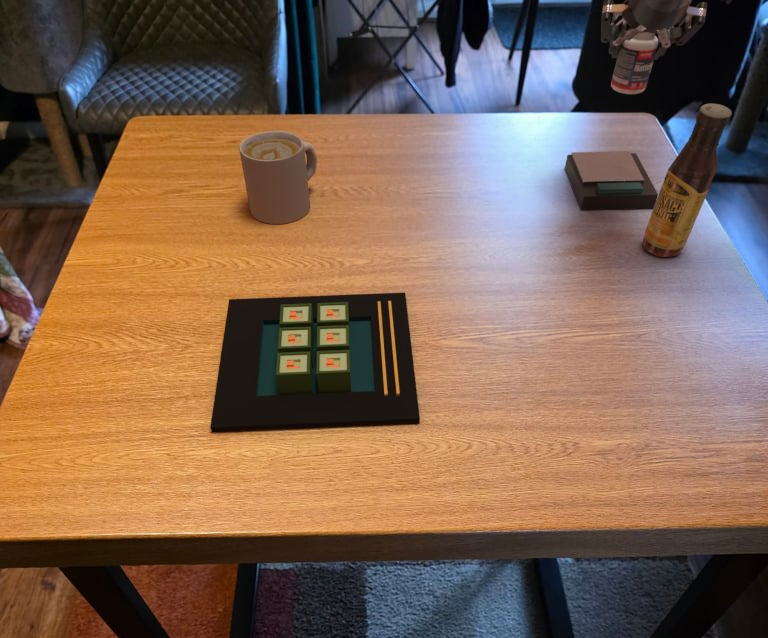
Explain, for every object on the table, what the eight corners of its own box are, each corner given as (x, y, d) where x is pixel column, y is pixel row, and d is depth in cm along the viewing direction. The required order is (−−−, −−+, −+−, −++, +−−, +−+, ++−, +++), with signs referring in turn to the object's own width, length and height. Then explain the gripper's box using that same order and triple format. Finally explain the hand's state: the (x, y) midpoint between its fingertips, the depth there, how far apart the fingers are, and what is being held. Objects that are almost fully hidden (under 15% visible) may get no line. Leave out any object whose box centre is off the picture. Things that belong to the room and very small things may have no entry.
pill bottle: (629, 98, 99) (647, 27, 91) (603, 86, 101) (619, 17, 94) (652, 89, 100) (672, 19, 93) (626, 78, 103) (643, 9, 96)
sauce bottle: (632, 242, 102) (677, 101, 86) (666, 233, 103) (717, 94, 87) (657, 264, 98) (709, 122, 82) (692, 255, 100) (750, 114, 84)
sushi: (419, 423, 79) (420, 401, 76) (211, 432, 79) (204, 410, 76) (405, 297, 94) (405, 274, 91) (230, 304, 94) (225, 281, 91)
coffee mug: (269, 231, 105) (259, 167, 97) (239, 205, 110) (227, 142, 102) (339, 204, 110) (334, 141, 102) (307, 180, 114) (301, 118, 106)
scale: (632, 167, 116) (637, 148, 114) (653, 208, 108) (659, 189, 105) (564, 168, 116) (568, 149, 113) (580, 210, 108) (585, 191, 105)
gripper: (735, -55, 81) (688, 26, 97) (616, -58, 82) (589, 22, 99) (725, 12, 82) (680, 81, 98) (607, 8, 83) (582, 77, 100)
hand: (634, 51), depth 98 cm, fingers closed on pill bottle, 5 cm apart
